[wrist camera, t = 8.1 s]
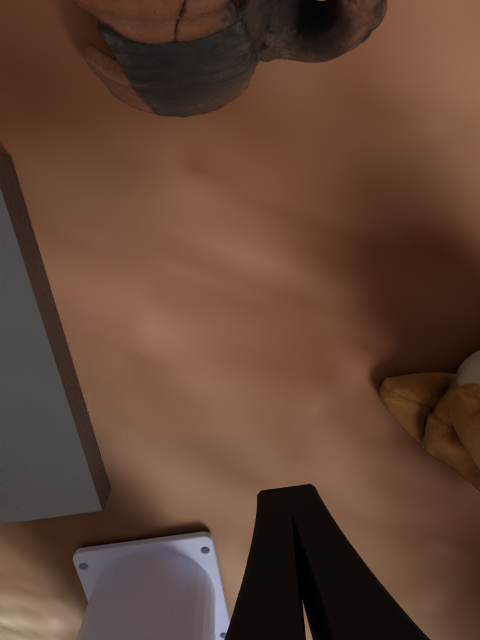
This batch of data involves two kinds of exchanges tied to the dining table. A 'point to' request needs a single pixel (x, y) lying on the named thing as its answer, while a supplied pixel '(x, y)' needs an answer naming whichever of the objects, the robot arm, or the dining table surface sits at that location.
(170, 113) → the pottery mug
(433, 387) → the stuffed squirrel
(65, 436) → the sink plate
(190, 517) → the dining table surface
